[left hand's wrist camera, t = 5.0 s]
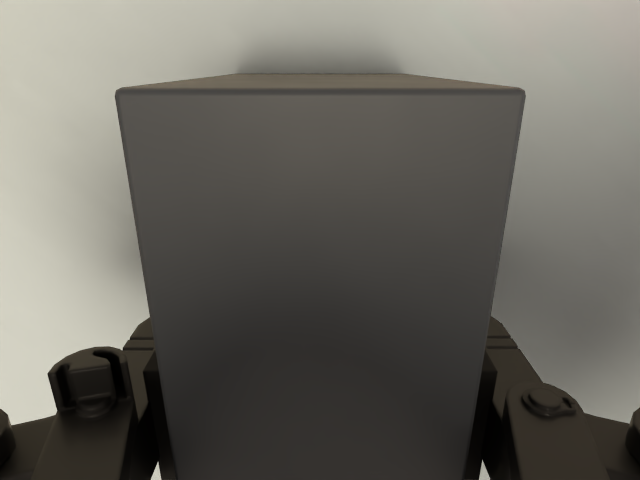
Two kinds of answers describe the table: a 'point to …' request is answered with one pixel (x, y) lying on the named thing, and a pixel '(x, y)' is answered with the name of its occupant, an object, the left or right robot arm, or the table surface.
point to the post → (320, 266)
